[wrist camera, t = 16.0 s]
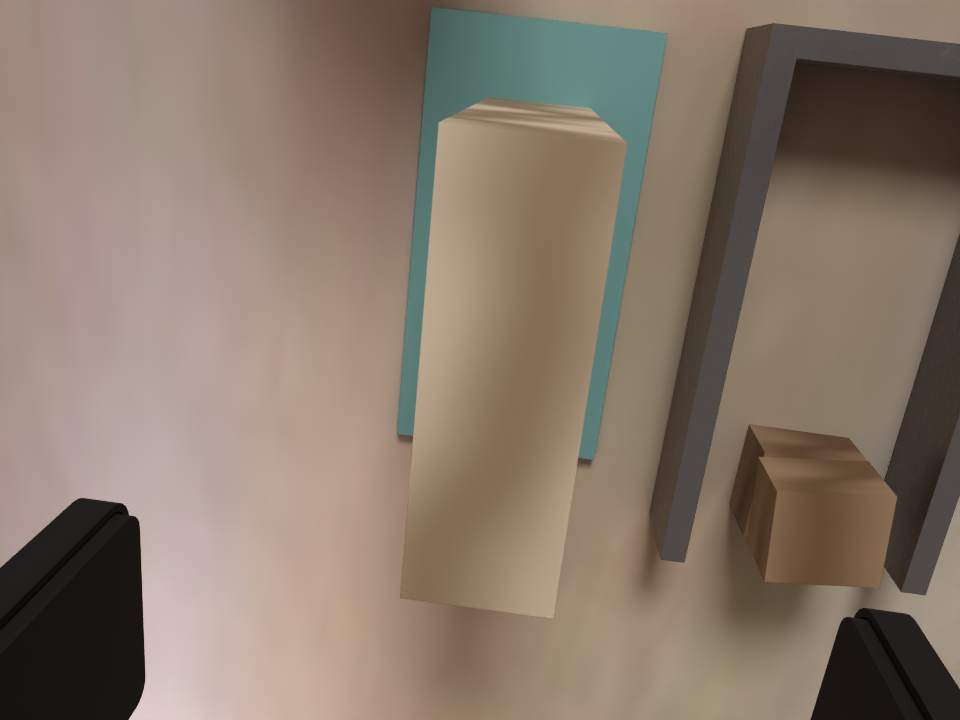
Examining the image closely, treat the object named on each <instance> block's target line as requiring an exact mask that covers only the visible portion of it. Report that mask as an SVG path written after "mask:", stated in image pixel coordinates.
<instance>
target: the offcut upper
mask: <svg viewBox="0 0 960 720" xmlns="http://www.w3.org/2000/svg"><path fill="white" fill-rule="evenodd" d="M896 501H897V496H896V495H895V493H894V492H893V491H892V490H891V489H890V487H889V486H888V485H887V484H886V482H885V481H884V480H883V479H882V477H881V476H880V475H879V474H878V473H877V471H876V470H875V469H874V468H873V466H872V465H871V464H870V463H869V461H846V460H822V459H798V458H773V457H759V458H758V465H757V473H756V480H755V488H754V496H753V503H752V511H751V519H750V526H749V534H748V544H749V546H750V549H751V551H752V553H753V556H754V558H755V561H756V563H757V565H758V568H759V570H760V572H761V575H762V577H763V580H764V582H775V583H794V584H813V585H832V586H852V587H871V588H880V583H881V578H882V573H883V567H884V562H885V557H886V552H887V547H888V542H889V537H890V532H891V526H892V521H893V516H894V511H895V506H896Z"/></svg>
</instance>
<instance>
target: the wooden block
mask: <svg viewBox="0 0 960 720" xmlns="http://www.w3.org/2000/svg"><path fill="white" fill-rule="evenodd" d="M626 149H627V142H626V141H625V140H623V139H622V138H621V137H620V136H619V135H618V134H617V133H616V132H615V131H614V130H613V129H612V128H611V127H610V126H609V125H608V124H607V123H605V122H604V121H603V120H602V119H601V118H600V117H599V116H598V115H597V114H596V113H595V112H594V111H593V110H592V109H591V108H584V107H574V106H565V105H556V104H547V103H538V102H529V101H519V100H510V99H501V98H492V97H488V98H486V99H484V100H482V101H480V102H478V103H476V104H474V105H472V106H470V107H468V108H466V109H464V110H462V111H460V112H458V113H456V114H454V115H453V116H451V117H449V118H447V119H445V120H443V121H441V122H439V126H438V138H437V151H436V163H435V175H434V188H433V200H432V212H431V225H430V237H429V249H428V261H427V274H426V286H425V298H424V311H423V323H422V335H421V348H420V360H419V372H418V384H417V397H416V409H415V421H414V434H413V446H412V458H411V471H410V483H409V495H408V507H407V520H406V532H405V544H404V557H403V569H402V581H401V594H400V598H402V599H410V600H418V601H425V602H433V603H440V604H448V605H455V606H463V607H470V608H478V609H485V610H493V611H500V612H508V613H515V614H523V615H531V616H538V617H546V618H553V616H554V609H555V603H556V596H557V590H558V584H559V577H560V571H561V564H562V558H563V552H564V545H565V539H566V533H567V526H568V520H569V513H570V507H571V501H572V494H573V488H574V481H575V475H576V469H577V462H578V456H579V449H580V443H581V437H582V430H583V424H584V418H585V411H586V405H587V398H588V392H589V386H590V379H591V373H592V366H593V360H594V354H595V347H596V341H597V334H598V328H599V322H600V315H601V309H602V303H603V296H604V290H605V283H606V277H607V271H608V264H609V258H610V251H611V245H612V239H613V232H614V226H615V219H616V213H617V207H618V200H619V194H620V188H621V181H622V175H623V168H624V162H625V156H626Z"/></svg>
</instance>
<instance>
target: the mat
mask: <svg viewBox="0 0 960 720" xmlns="http://www.w3.org/2000/svg"><path fill="white" fill-rule="evenodd" d="M666 37H667V33H660V32H651V31H642V30H633V29H624V28H616V27H607V26H598V25H589V24H580V23H571V22H562V21H553V20H544V19H535V18H527V17H518V16H509V15H500V14H491V13H482V12H473V11H464V10H455V9H446V8H438V7H431V18H430V30H429V42H428V55H427V67H426V79H425V92H424V104H423V116H422V129H421V141H420V153H419V166H418V178H417V191H416V203H415V215H414V228H413V240H412V252H411V265H410V277H409V289H408V302H407V314H406V326H405V339H404V351H403V363H402V376H401V388H400V401H399V413H398V425H397V434H400V435H408V436H413V434H414V421H415V409H416V397H417V384H418V372H419V360H420V348H421V335H422V323H423V311H424V298H425V286H426V274H427V261H428V249H429V237H430V225H431V212H432V200H433V188H434V175H435V163H436V151H437V138H438V126H439V122H441V121H443V120H445V119H447V118H449V117H451V116H453V115H454V114H456V113H458V112H460V111H462V110H464V109H466V108H468V107H470V106H472V105H474V104H476V103H478V102H480V101H482V100H484V99H486V98H488V97H492V98H501V99H510V100H519V101H529V102H538V103H547V104H556V105H565V106H574V107H584V108H591V109H592V110H593V111H594V112H595V113H596V114H597V115H598V116H599V117H600V118H601V119H602V120H603V121H604V122H605V123H607V124H608V125H609V126H610V127H611V128H612V129H613V130H614V131H615V132H616V133H617V134H618V135H619V136H620V137H621V138H622V139H623V140H625V141H626V142H627V149H626V156H625V162H624V168H623V175H622V181H621V188H620V194H619V200H618V207H617V213H616V219H615V226H614V232H613V239H612V245H611V251H610V258H609V264H608V271H607V277H606V283H605V290H604V296H603V303H602V309H601V315H600V322H599V328H598V334H597V341H596V347H595V354H594V360H593V366H592V373H591V379H590V386H589V392H588V398H587V405H586V411H585V418H584V424H583V430H582V437H581V443H580V449H579V456H578V458H583V459H591V460H594V458H595V452H596V446H597V440H598V434H599V429H600V423H601V417H602V411H603V405H604V399H605V393H606V388H607V382H608V376H609V370H610V364H611V358H612V353H613V347H614V341H615V335H616V329H617V323H618V318H619V312H620V306H621V300H622V294H623V288H624V283H625V277H626V271H627V265H628V259H629V253H630V247H631V242H632V236H633V230H634V224H635V218H636V212H637V207H638V201H639V195H640V189H641V183H642V177H643V172H644V166H645V160H646V154H647V148H648V142H649V137H650V131H651V125H652V119H653V113H654V107H655V101H656V96H657V90H658V84H659V78H660V72H661V66H662V61H663V55H664V49H665V43H666Z"/></svg>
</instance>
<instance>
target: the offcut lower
mask: <svg viewBox="0 0 960 720" xmlns="http://www.w3.org/2000/svg"><path fill="white" fill-rule="evenodd" d="M759 457H773V458H798V459H822V460H846V461H867V460H866V459H865V458H864V456H863V455H862V454H861V453H860V451H859V450H858V449H857V448H856V446H855V445H854V444H853V443H852V441H851V440H850V439H849V438H845V437H837V436H830V435H823V434H816V433H808V432H801V431H794V430H786V429H779V428H772V427H765V426H757V425H750V424H749V427H748V431H747V435H746V439H745V443H744V447H743V451H742V455H741V459H740V463H739V467H738V471H737V475H736V479H735V483H734V487H733V491H732V495H731V499H730V506H731V508H732V510H733V513H734V515H735V518H736V520H737V523H738V525H739V527H740V530H741V532H742V535H743V536H745V537H748V534H749V526H750V519H751V511H752V503H753V496H754V488H755V480H756V473H757V465H758V458H759Z"/></svg>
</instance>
